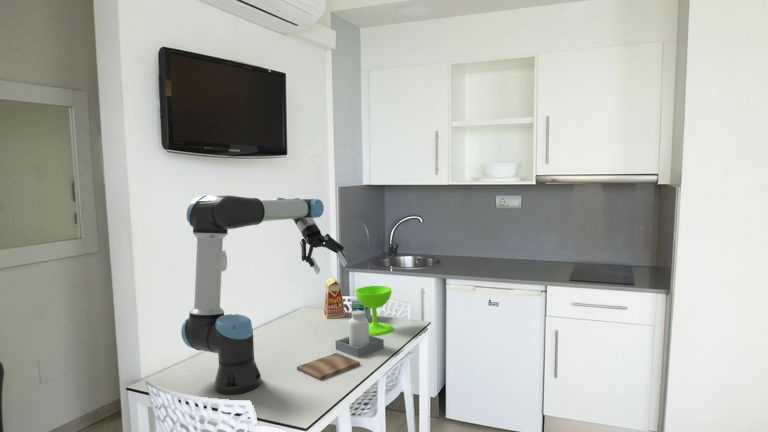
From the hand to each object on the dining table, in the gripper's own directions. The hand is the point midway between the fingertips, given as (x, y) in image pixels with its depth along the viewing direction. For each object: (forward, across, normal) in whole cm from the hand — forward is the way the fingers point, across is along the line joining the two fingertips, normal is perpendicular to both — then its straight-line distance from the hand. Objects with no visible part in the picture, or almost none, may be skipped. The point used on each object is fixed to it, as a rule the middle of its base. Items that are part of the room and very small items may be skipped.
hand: (332, 268), depth 212 cm
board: (+36, +20, -6) cm, 41 cm away
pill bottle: (+32, 0, -12) cm, 34 cm away
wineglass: (+23, -20, -22) cm, 38 cm away
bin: (+32, 0, -12) cm, 34 cm away
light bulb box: (+12, -25, -34) cm, 44 cm away
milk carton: (+1, -21, -46) cm, 50 cm away
